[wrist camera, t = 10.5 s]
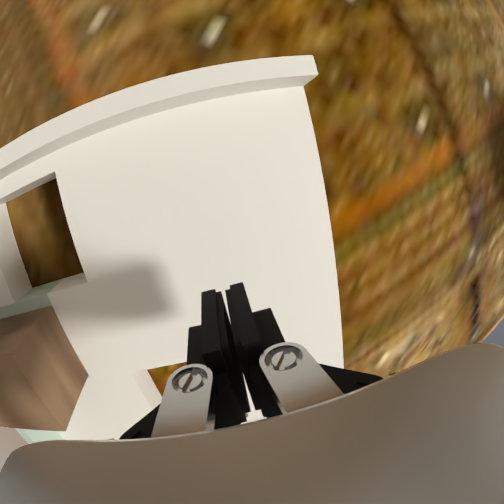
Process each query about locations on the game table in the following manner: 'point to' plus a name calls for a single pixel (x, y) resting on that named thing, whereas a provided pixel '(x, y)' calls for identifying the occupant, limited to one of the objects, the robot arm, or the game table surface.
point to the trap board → (177, 226)
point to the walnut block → (38, 372)
